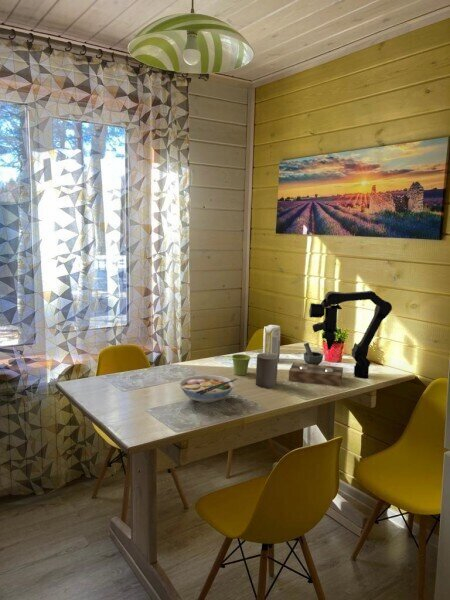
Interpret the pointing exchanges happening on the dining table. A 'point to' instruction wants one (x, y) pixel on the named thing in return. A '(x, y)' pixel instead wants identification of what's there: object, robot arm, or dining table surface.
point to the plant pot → (240, 363)
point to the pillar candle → (266, 370)
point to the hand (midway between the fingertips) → (329, 349)
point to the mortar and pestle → (312, 356)
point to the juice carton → (271, 340)
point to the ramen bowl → (206, 387)
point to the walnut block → (316, 374)
